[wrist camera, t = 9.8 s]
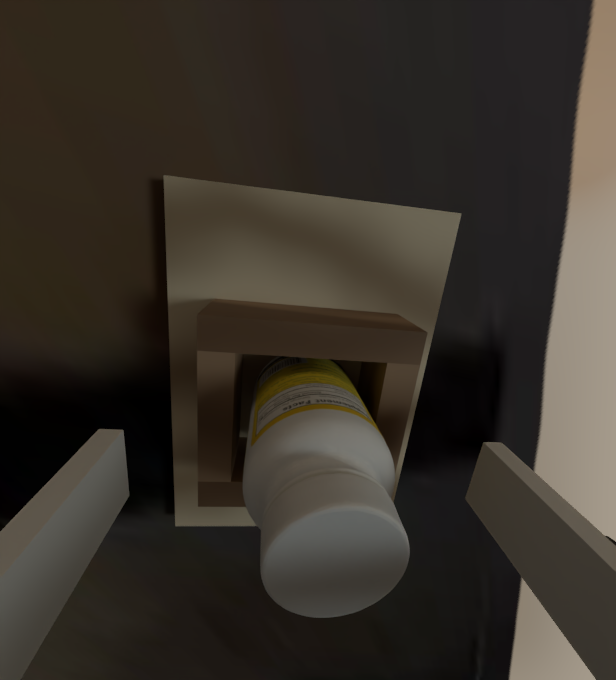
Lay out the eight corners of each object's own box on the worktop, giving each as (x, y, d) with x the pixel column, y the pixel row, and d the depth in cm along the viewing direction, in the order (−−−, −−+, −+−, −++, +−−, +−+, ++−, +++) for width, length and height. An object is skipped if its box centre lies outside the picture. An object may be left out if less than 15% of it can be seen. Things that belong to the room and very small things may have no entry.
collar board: (383, 513, 22) (408, 579, 18) (180, 512, 20) (153, 585, 16) (450, 215, 16) (513, 205, 12) (171, 179, 14) (125, 153, 10)
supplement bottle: (328, 442, 18) (382, 648, 9) (241, 418, 17) (201, 624, 8) (365, 363, 17) (472, 511, 8) (273, 332, 16) (269, 459, 7)
